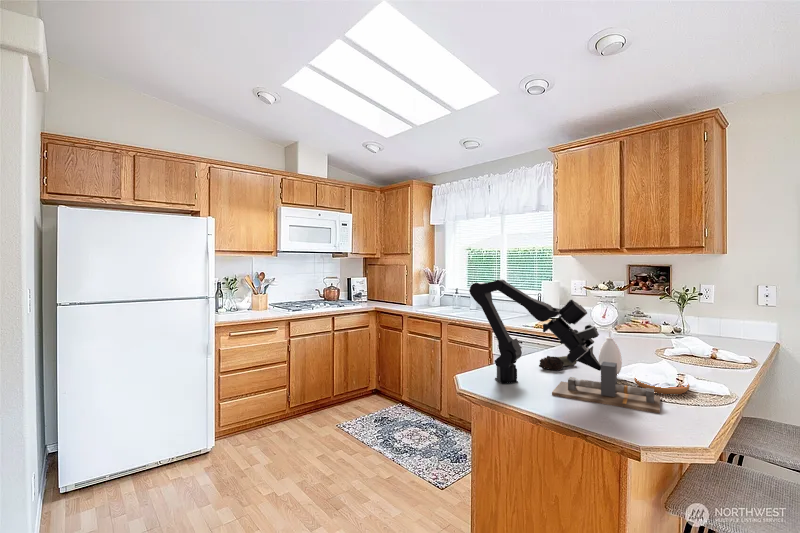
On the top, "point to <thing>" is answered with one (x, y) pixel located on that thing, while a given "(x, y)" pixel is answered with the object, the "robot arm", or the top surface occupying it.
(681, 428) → the top surface
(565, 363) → the dark elongated piece
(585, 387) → the pipe board
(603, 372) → the grey upright block
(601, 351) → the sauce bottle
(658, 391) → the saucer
